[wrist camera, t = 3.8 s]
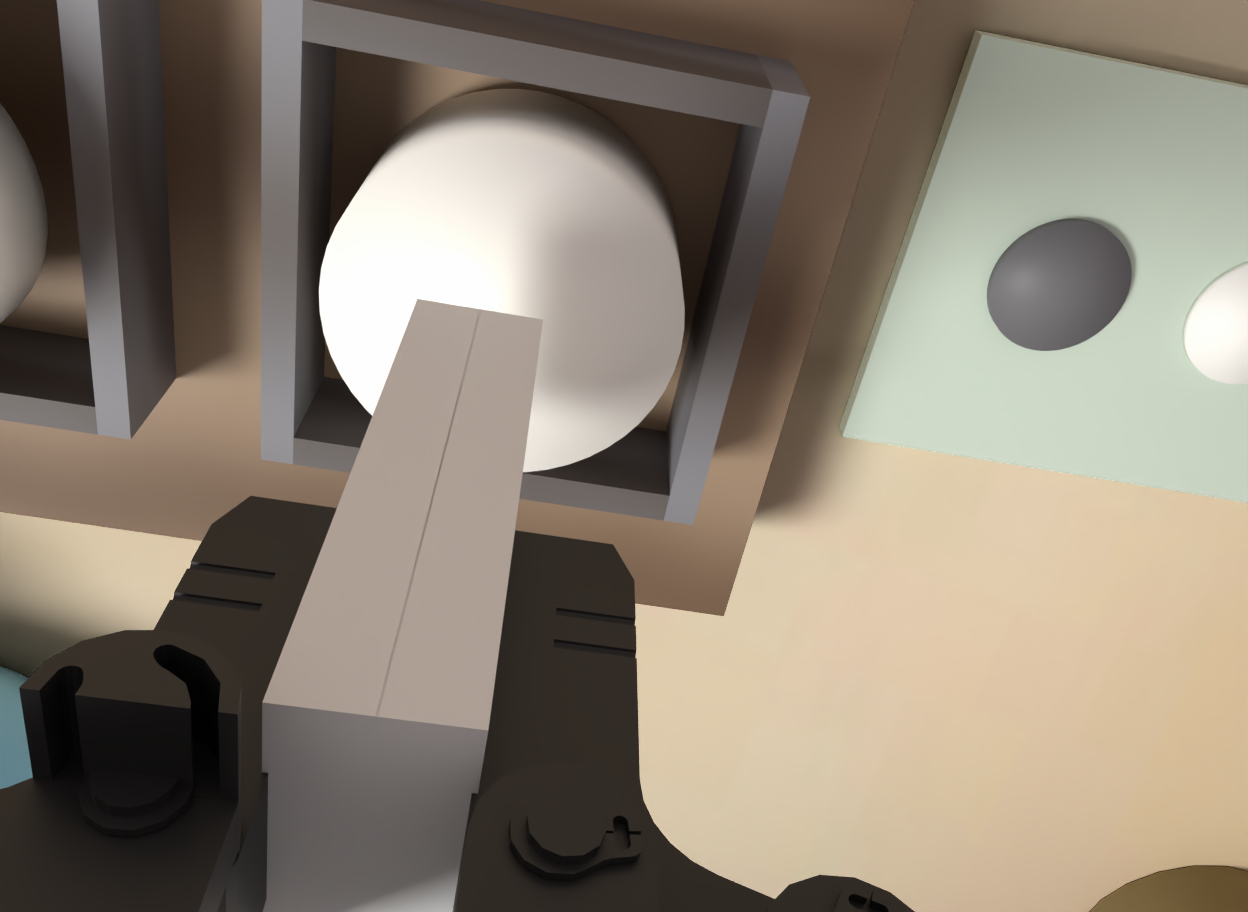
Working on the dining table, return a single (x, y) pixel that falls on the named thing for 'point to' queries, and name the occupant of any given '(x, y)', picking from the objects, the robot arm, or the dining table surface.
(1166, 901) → the olive game pawn
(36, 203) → the middle button
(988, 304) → the pattern card
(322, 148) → the button board
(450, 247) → the end button
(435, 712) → the robot arm
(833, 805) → the dining table surface
